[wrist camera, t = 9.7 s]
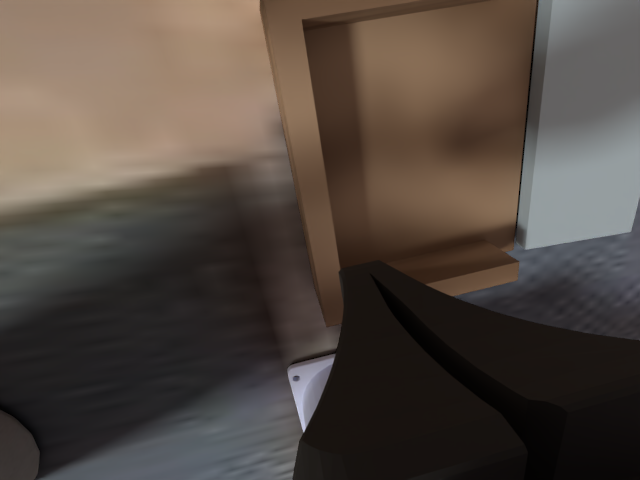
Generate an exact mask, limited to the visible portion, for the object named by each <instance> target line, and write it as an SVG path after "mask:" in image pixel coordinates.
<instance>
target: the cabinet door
mask: <svg viewBox="0 0 640 480" xmlns="http://www.w3.org/2000/svg"><path fill="white" fill-rule="evenodd" d="M639 198H640V0H539V4H538V15H537V25H536V35H535V46H534V56H533V67H532V77H531V87H530V98H529V108H528V119H527V129H526V139H525V150H524V160H523V171H522V181H521V192H520V202H519V212H518V223H517V233H516V243H517V244H518V245H519V246H521V247H522V248H523V249H525V250H526V249H532V248H538V247H544V246H550V245H556V244H562V243H568V242H573V241H579V240H585V239H591V238H597V237H603V236H609V235H614V234H620V233H626V232H631V229H632V225H633V221H634V217H635V213H636V209H637V206H638V202H639Z"/></svg>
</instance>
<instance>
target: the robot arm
mask: <svg viewBox="0 0 640 480" xmlns="http://www.w3.org/2000/svg"><path fill="white" fill-rule="evenodd" d="M338 273H339V280H340V286H341V292H342V298H343V305H344V308H343V318H342V327H341V333H340V338H339V342H338V347H337V351H336V353H335V354H332V355H328V356H324V357H320V358H316V359H312V360H308V361H304V362H300V363H296V364H292V365H290V366H289V367H288V369H287V372H288V377H289V381H290V384H291V388H292V392H293V395H294V399H295V403H296V406H297V410H298V414H299V417H300V421H301V425H302V428H303V432H304V433H303V435H302V437H301V439H300V441H299V446H298V451H297V456H296V462H295V467H294V474H293V480H640V341H639V340H632V339H624V338H617V337H610V336H602V335H595V334H589V333H583V332H578V331H572V330H567V329H562V328H557V327H552V326H547V325H543V324H538V323H534V322H530V321H526V320H522V319H519V318H515V317H511V316H507V315H504V314H500V313H497V312H494V311H490V310H487V309H484V308H482V307H479V306H476V305H473V304H470V303H467V302H464V301H462V300H459V299H457V298H454V297H452V296H450V295H447V294H445V293H443V292H440V291H438V290H436V289H434V288H432V287H430V286H427V285H425V284H423V283H421V282H419V281H417V280H416V279H414V278H412V277H410V276H408V275H406V274H404V273H402V272H400V271H399V270H397V269H395V268H393V267H391V266H389V265H388V264H386V263H384V262H382V261H380V260H376V261H371V262H367V263H363V264H358V265H354V266H350V267H345V268H341V270H340V271H339V272H338ZM294 376H297V377H294Z"/></svg>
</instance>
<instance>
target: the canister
mask: <svg viewBox="0 0 640 480" xmlns="http://www.w3.org/2000/svg"><path fill="white" fill-rule="evenodd" d="M39 457H40V451H39V449H38V447H37V445H36V443H35V440H34V438H33V436H32V434H31V433H30V432H29V431H28V430H27V429H26V428H25V427H24V426H23V425H22V424H21V423H20V422H19V421H18V420H17V419H16V418H14V417H13V416H11V415H9V414H7V413H5V412H3V411H2V410H0V480H35V478H36V476H37V474H38V468H39Z"/></svg>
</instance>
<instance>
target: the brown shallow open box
mask: <svg viewBox="0 0 640 480" xmlns="http://www.w3.org/2000/svg"><path fill="white" fill-rule="evenodd" d="M536 4H537V0H260V14H261V19H262V24H263V29H264V34H265V39H266V44H267V49H268V54H269V59H270V64H271V69H272V74H273V79H274V85H275V90H276V95H277V100H278V105H279V110H280V115H281V120H282V125H283V130H284V135H285V140H286V145H287V150H288V155H289V160H290V166H291V171H292V176H293V181H294V186H295V191H296V196H297V201H298V206H299V211H300V216H301V221H302V226H303V231H304V236H305V241H306V247H307V252H308V257H309V262H310V267H311V272H312V277H313V282H314V287H315V291H316V294H317V297H318V301H319V304H320V307H321V310H322V314H323V317H324V320H325V324H326V327H330V326H334V325H338V324H342V318H343V308H344V305H343V298H342V292H341V286H340V280H339V273H338V272H339V271H340V270H341V268H345V267H350V266H354V265H358V264H363V263H367V262H371V261H376V260H380V261H382V262H384V263H386V264H388V265H389V266H391V267H393V268H395V269H397V270H399V271H400V272H402V273H404V274H406V275H408V276H410V277H412V278H414V279H416V280H417V281H419V282H421V283H423V284H425V285H427V286H430V287H432V288H434V289H436V290H438V291H440V292H443V293H445V294H447V295H450V296H456V295H460V294H464V293H468V292H472V291H476V290H480V289H484V288H488V287H492V286H496V285H500V284H505V283H509V282H513V281H517V279H518V270H519V261H517V260H516V259H514V258H513V257H511V256H510V255H508V254H506V253H505V252H507V251H511V250H513V249H514V238H515V227H516V217H517V206H518V195H519V185H520V174H521V163H522V153H523V142H524V132H525V121H526V110H527V100H528V89H529V78H530V68H531V57H532V46H533V36H534V25H535V14H536Z"/></svg>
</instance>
